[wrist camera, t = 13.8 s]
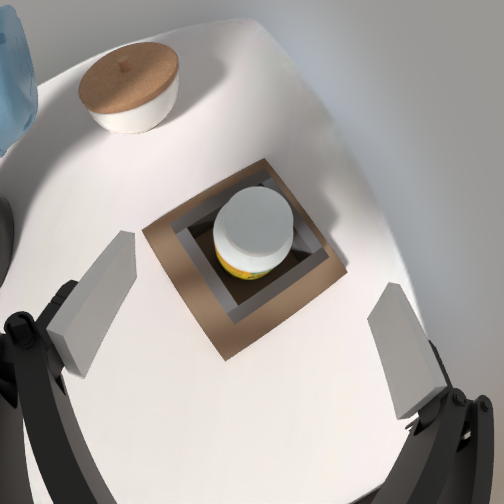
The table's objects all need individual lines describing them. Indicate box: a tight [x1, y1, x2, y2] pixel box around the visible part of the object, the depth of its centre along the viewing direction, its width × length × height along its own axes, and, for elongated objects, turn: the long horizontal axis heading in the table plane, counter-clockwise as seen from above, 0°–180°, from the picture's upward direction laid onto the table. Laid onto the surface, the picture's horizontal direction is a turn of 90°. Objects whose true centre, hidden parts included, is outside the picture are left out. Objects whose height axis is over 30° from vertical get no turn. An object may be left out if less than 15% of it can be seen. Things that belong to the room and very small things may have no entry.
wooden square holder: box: [142, 158, 347, 361], centre depth 23 cm, size 14×14×5 cm
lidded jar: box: [79, 42, 179, 135], centre depth 24 cm, size 11×11×9 cm
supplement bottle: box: [213, 187, 293, 281], centre depth 20 cm, size 5×5×10 cm
